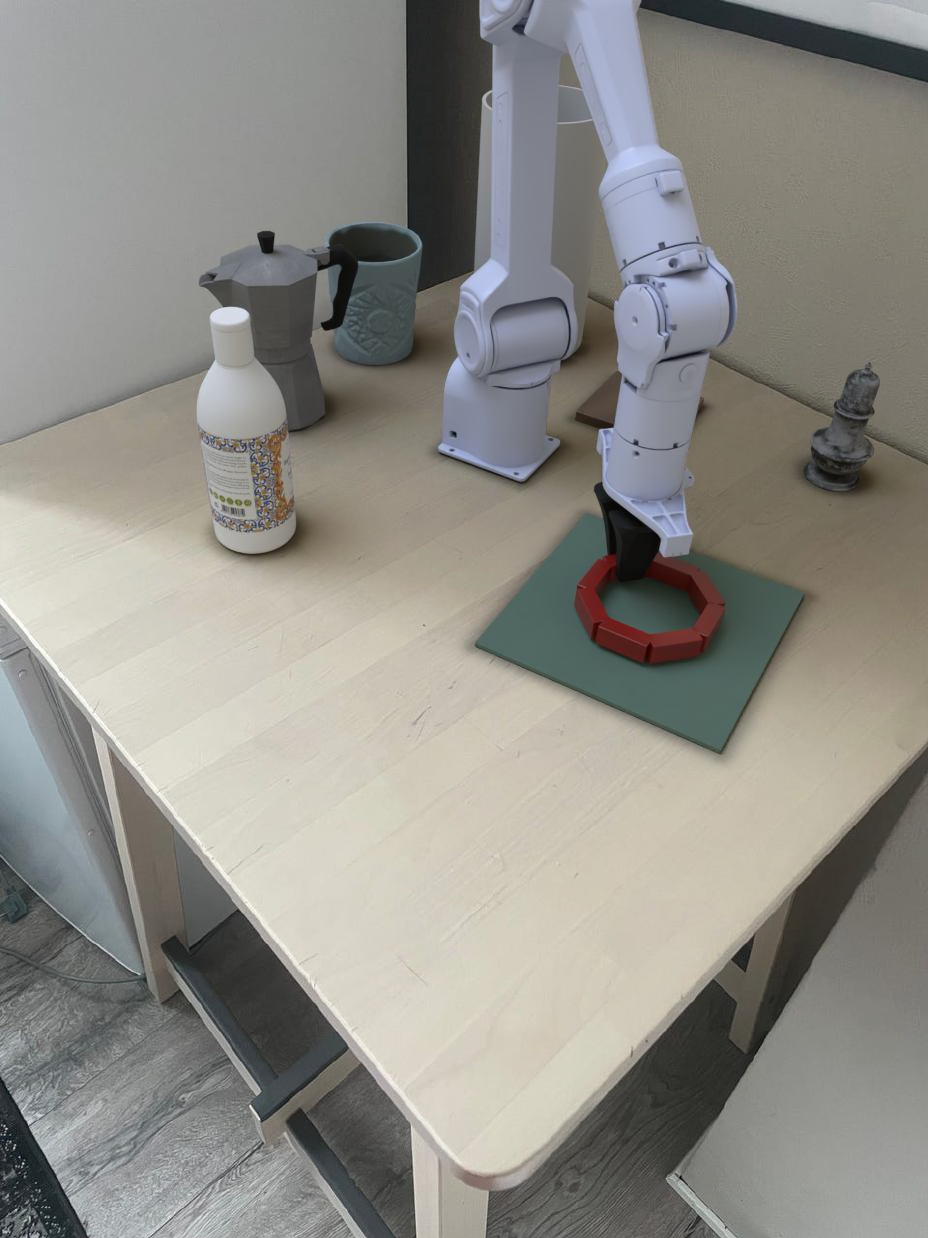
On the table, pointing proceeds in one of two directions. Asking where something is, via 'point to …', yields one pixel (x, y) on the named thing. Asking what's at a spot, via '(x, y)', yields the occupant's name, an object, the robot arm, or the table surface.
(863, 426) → the salt shaker
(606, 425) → the ring holder
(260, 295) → the coffeepot
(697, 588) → the ring
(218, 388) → the bath foam
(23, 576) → the table surface
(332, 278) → the teal embossed mug
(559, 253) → the cylinder vase
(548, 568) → the mat
